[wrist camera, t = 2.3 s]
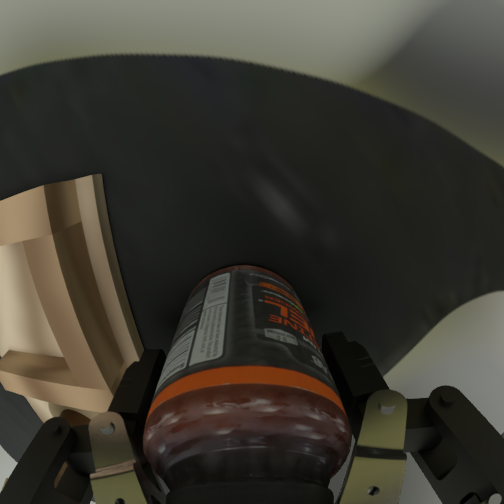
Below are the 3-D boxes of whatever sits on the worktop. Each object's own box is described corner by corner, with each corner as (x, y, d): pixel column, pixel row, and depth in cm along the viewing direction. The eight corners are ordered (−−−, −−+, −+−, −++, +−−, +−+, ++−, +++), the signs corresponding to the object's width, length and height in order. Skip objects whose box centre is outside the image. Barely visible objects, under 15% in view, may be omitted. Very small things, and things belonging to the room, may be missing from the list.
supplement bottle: (323, 310, 14) (419, 508, 4) (246, 374, 15) (256, 561, 5) (239, 234, 13) (245, 497, 2) (163, 315, 14) (86, 521, 3)
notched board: (101, 173, 12) (61, 179, 8) (185, 444, 18) (180, 479, 14) (-37, 220, 11) (-68, 233, 8) (53, 424, 18) (40, 448, 14)
